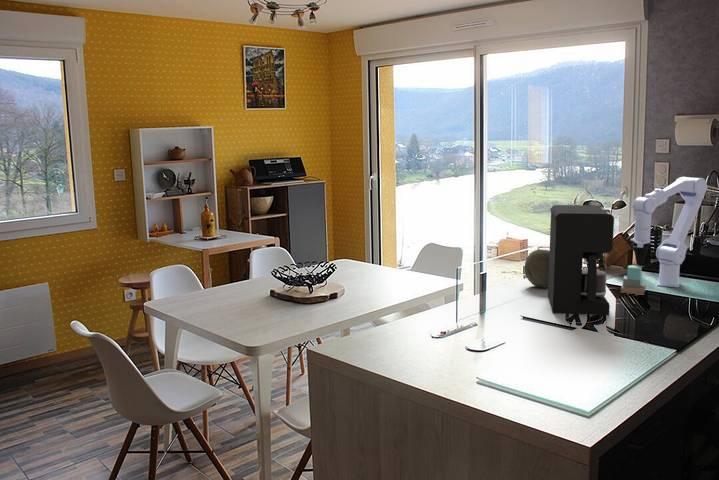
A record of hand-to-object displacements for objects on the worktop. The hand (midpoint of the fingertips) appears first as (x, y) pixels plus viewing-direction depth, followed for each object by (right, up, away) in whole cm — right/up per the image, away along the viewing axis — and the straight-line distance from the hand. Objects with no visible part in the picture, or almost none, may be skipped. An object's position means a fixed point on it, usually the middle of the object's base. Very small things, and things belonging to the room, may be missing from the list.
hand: (640, 262), depth 265 cm
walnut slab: (-4, -12, -4) cm, 13 cm away
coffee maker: (-32, -15, -23) cm, 42 cm away
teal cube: (-4, -6, -5) cm, 9 cm away
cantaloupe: (-37, -10, +7) cm, 38 cm away
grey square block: (-5, -9, -3) cm, 10 cm away
